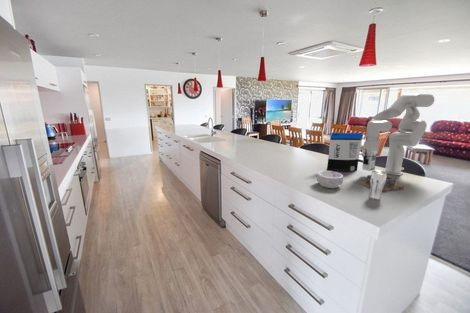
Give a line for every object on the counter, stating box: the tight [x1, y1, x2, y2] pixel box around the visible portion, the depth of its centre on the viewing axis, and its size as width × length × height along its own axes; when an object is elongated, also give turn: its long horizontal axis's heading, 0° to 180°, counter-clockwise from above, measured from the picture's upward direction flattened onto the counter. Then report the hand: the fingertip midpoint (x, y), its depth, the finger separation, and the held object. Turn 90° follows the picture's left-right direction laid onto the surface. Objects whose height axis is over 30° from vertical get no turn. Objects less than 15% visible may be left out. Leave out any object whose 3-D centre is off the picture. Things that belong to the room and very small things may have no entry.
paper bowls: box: [316, 170, 344, 189], centre depth 134 cm, size 15×15×8 cm
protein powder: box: [326, 132, 363, 173], centre depth 166 cm, size 10×24×30 cm, turn 90°
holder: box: [357, 174, 405, 193], centre depth 135 cm, size 20×16×6 cm
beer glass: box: [368, 169, 387, 201], centre depth 116 cm, size 7×7×15 cm
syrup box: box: [361, 151, 377, 172], centre depth 151 cm, size 6×6×14 cm
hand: (368, 163), depth 152 cm, fingers closed on syrup box, 6 cm apart
